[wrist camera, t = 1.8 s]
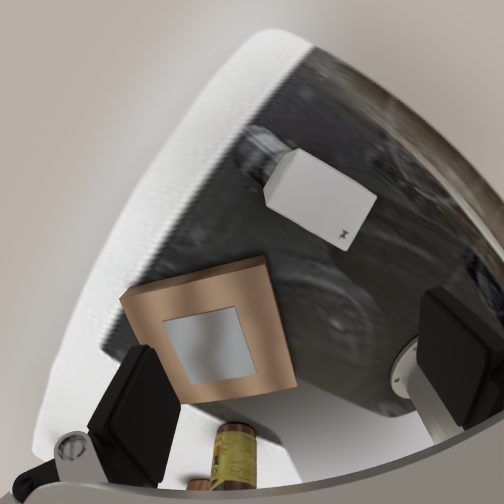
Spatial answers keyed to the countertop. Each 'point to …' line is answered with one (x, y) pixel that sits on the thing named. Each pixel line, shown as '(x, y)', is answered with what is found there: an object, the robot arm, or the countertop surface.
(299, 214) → the skincare box
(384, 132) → the countertop surface
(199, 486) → the cupcake
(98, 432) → the robot arm
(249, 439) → the sauce bottle
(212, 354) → the walnut picture frame
